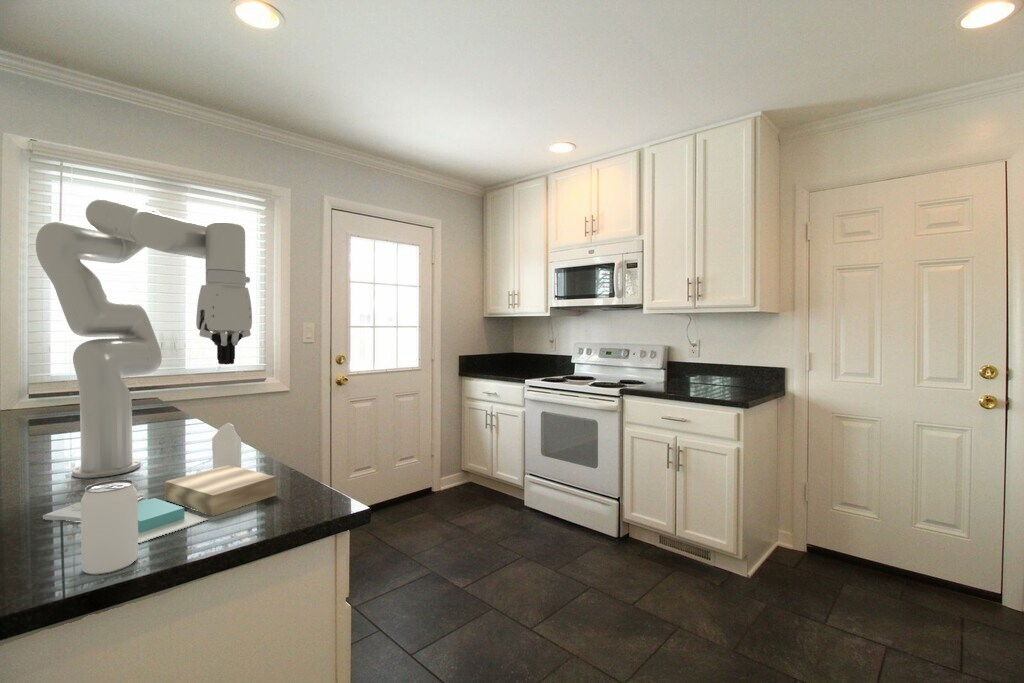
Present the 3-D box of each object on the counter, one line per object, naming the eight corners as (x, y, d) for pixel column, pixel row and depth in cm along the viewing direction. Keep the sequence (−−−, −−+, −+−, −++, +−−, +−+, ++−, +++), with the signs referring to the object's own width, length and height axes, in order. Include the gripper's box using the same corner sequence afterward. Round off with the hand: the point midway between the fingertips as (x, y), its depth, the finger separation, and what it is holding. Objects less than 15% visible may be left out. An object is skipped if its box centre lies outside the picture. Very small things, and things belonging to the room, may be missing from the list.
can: (104, 555, 75) (102, 478, 75) (148, 554, 76) (147, 478, 75) (69, 576, 69) (68, 493, 68) (118, 575, 69) (117, 492, 69)
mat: (86, 521, 88) (86, 520, 87) (154, 502, 97) (154, 500, 97) (139, 544, 79) (138, 542, 79) (207, 520, 89) (207, 518, 89)
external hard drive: (143, 501, 99) (81, 526, 87) (109, 498, 101) (42, 522, 88) (143, 493, 99) (80, 517, 87) (109, 490, 101) (42, 513, 88)
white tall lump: (211, 426, 112) (212, 422, 117) (212, 478, 112) (212, 471, 117) (241, 424, 115) (240, 420, 120) (241, 474, 115) (241, 468, 120)
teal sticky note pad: (154, 497, 93) (154, 508, 93) (110, 510, 87) (110, 521, 87) (184, 507, 89) (184, 518, 89) (140, 521, 83) (140, 532, 83)
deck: (165, 500, 98) (165, 481, 98) (228, 482, 110) (228, 465, 109) (212, 516, 91) (212, 495, 90) (275, 495, 102) (275, 476, 102)
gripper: (247, 283, 115) (247, 360, 116) (179, 277, 102) (180, 365, 102) (268, 282, 111) (268, 362, 112) (200, 276, 98) (201, 367, 99)
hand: (226, 363), depth 107 cm, fingers closed
